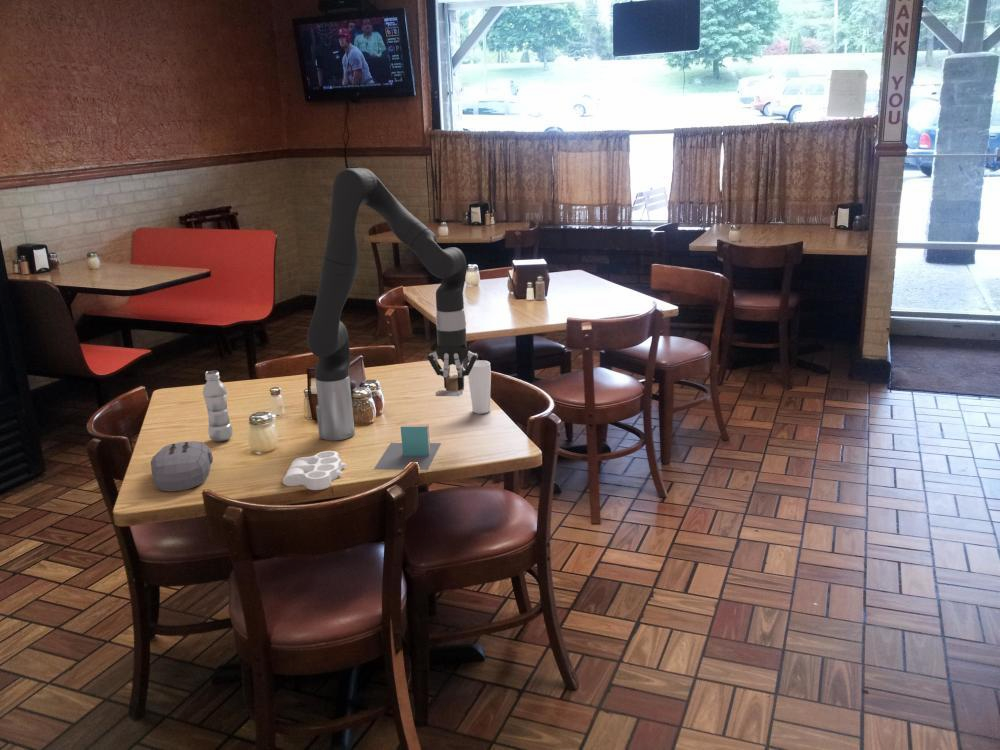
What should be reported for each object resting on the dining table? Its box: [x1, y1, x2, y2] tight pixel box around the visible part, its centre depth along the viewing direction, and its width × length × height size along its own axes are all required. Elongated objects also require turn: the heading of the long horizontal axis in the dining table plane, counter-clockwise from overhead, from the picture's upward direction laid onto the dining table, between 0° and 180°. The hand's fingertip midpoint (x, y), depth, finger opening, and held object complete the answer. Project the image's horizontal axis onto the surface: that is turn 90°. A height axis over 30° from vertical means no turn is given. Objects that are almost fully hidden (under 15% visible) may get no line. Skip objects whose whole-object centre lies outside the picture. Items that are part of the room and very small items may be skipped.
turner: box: [435, 374, 465, 397], centre depth 231 cm, size 6×17×4 cm, turn 172°
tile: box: [400, 423, 431, 456], centre depth 231 cm, size 7×2×8 cm, turn 83°
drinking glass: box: [467, 359, 492, 415], centre depth 262 cm, size 7×7×15 cm
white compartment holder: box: [282, 450, 348, 491], centre depth 223 cm, size 3×18×15 cm
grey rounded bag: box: [150, 440, 214, 492], centre depth 224 cm, size 15×8×20 cm
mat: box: [373, 442, 442, 471], centre depth 232 cm, size 14×18×1 cm
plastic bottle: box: [202, 370, 233, 442], centre depth 248 cm, size 6×7×20 cm
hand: (454, 389), depth 233 cm, fingers closed on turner, 2 cm apart
